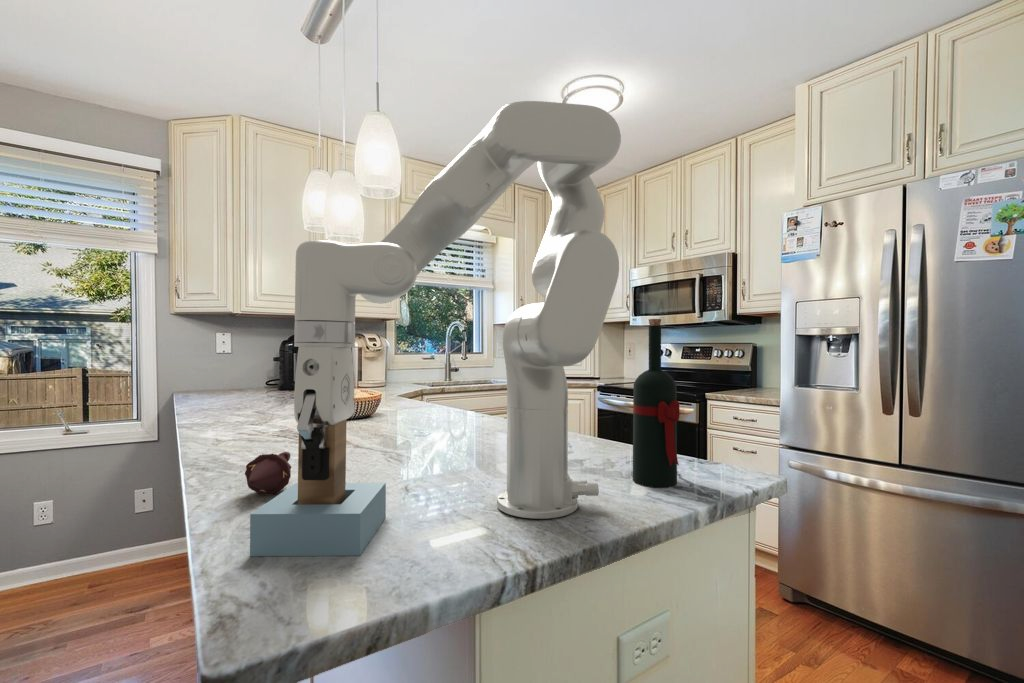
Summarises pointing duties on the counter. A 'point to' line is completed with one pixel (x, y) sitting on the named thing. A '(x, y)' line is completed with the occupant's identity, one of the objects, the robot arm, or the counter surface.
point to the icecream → (268, 473)
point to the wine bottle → (655, 420)
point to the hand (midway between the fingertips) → (323, 472)
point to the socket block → (318, 523)
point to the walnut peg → (335, 484)
